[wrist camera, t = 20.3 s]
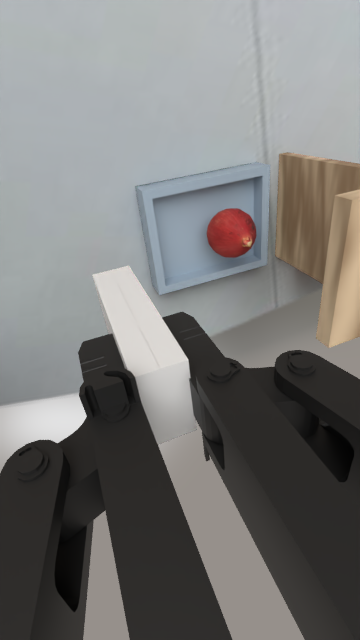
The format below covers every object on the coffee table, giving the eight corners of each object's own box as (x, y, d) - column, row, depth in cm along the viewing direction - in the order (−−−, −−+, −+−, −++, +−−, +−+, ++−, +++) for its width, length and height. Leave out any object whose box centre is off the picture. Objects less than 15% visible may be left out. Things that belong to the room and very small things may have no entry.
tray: (152, 285, 47) (159, 295, 44) (135, 186, 39) (141, 191, 37) (255, 257, 50) (267, 264, 48) (256, 162, 43) (270, 165, 41)
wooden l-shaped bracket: (228, 268, 50) (328, 348, 33) (224, 165, 42) (352, 200, 25) (281, 253, 52) (401, 321, 35) (287, 152, 44) (444, 177, 27)
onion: (222, 193, 43) (260, 204, 36) (242, 227, 46) (280, 243, 40) (188, 224, 43) (219, 241, 36) (210, 256, 46) (243, 277, 40)
